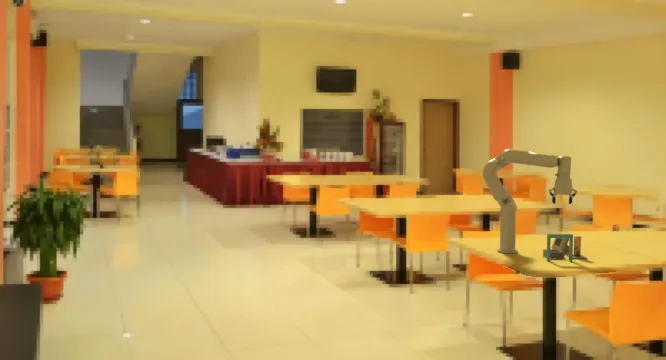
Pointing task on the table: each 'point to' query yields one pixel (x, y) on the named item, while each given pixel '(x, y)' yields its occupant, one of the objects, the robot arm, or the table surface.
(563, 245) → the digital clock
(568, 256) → the mat
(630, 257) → the table surface
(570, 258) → the green arch
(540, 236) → the table surface
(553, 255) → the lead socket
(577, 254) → the cylinder
